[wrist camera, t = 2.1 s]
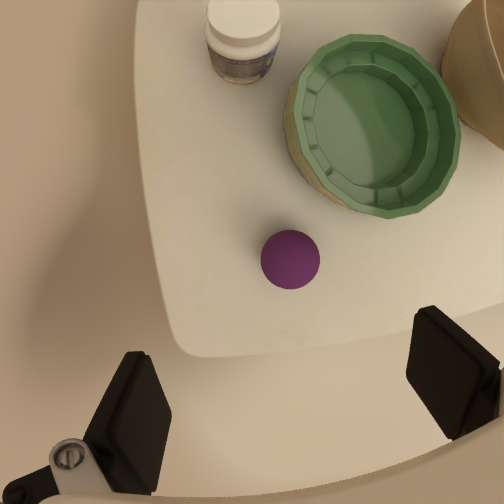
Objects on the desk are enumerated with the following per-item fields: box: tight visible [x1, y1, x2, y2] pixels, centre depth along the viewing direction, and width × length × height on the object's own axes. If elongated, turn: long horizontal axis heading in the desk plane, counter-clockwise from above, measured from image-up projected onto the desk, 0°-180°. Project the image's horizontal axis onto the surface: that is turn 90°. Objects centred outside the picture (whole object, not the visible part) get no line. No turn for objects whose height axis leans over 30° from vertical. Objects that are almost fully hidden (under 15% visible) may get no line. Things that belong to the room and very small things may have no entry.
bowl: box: [283, 34, 461, 219], centre depth 20 cm, size 13×13×5 cm
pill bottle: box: [204, 0, 281, 84], centre depth 16 cm, size 5×5×8 cm
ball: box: [261, 230, 320, 289], centre depth 23 cm, size 4×4×4 cm
